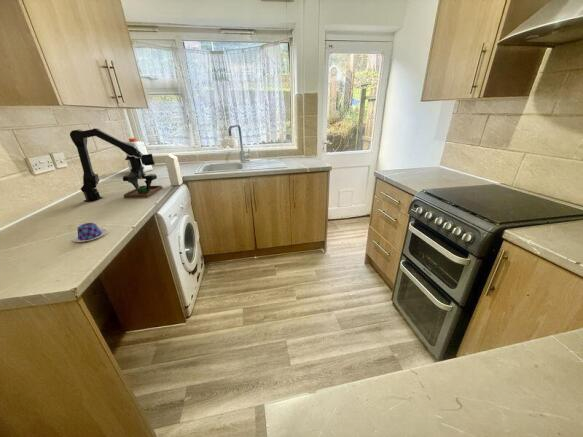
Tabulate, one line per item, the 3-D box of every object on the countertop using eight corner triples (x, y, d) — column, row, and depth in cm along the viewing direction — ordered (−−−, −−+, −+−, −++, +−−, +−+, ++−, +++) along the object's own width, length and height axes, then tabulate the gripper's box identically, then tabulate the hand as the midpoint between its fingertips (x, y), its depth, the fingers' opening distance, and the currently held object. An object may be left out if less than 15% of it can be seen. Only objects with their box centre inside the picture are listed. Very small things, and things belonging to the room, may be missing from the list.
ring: (136, 193, 154) (134, 188, 153) (141, 190, 160) (140, 185, 159) (146, 193, 154) (144, 188, 153) (151, 190, 160) (150, 185, 158)
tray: (124, 197, 149) (123, 194, 148) (141, 189, 166) (140, 186, 165) (147, 197, 149) (146, 194, 148) (162, 188, 166) (161, 185, 165)
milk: (171, 185, 172) (163, 153, 163) (174, 183, 177) (167, 152, 168) (179, 185, 172) (172, 153, 163) (183, 183, 177) (176, 152, 168)
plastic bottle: (155, 169, 224) (146, 137, 213) (142, 173, 211) (133, 139, 199) (141, 168, 227) (132, 137, 216) (128, 172, 214) (117, 139, 203)
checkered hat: (67, 246, 95) (62, 234, 93) (78, 233, 105) (73, 222, 103) (104, 239, 99) (99, 228, 97) (110, 228, 110) (106, 217, 107)
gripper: (113, 169, 143) (121, 195, 149) (144, 168, 143) (151, 194, 149) (124, 165, 153) (132, 189, 160) (154, 165, 153) (160, 188, 159)
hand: (143, 190), depth 157 cm, fingers closed on ring, 6 cm apart
